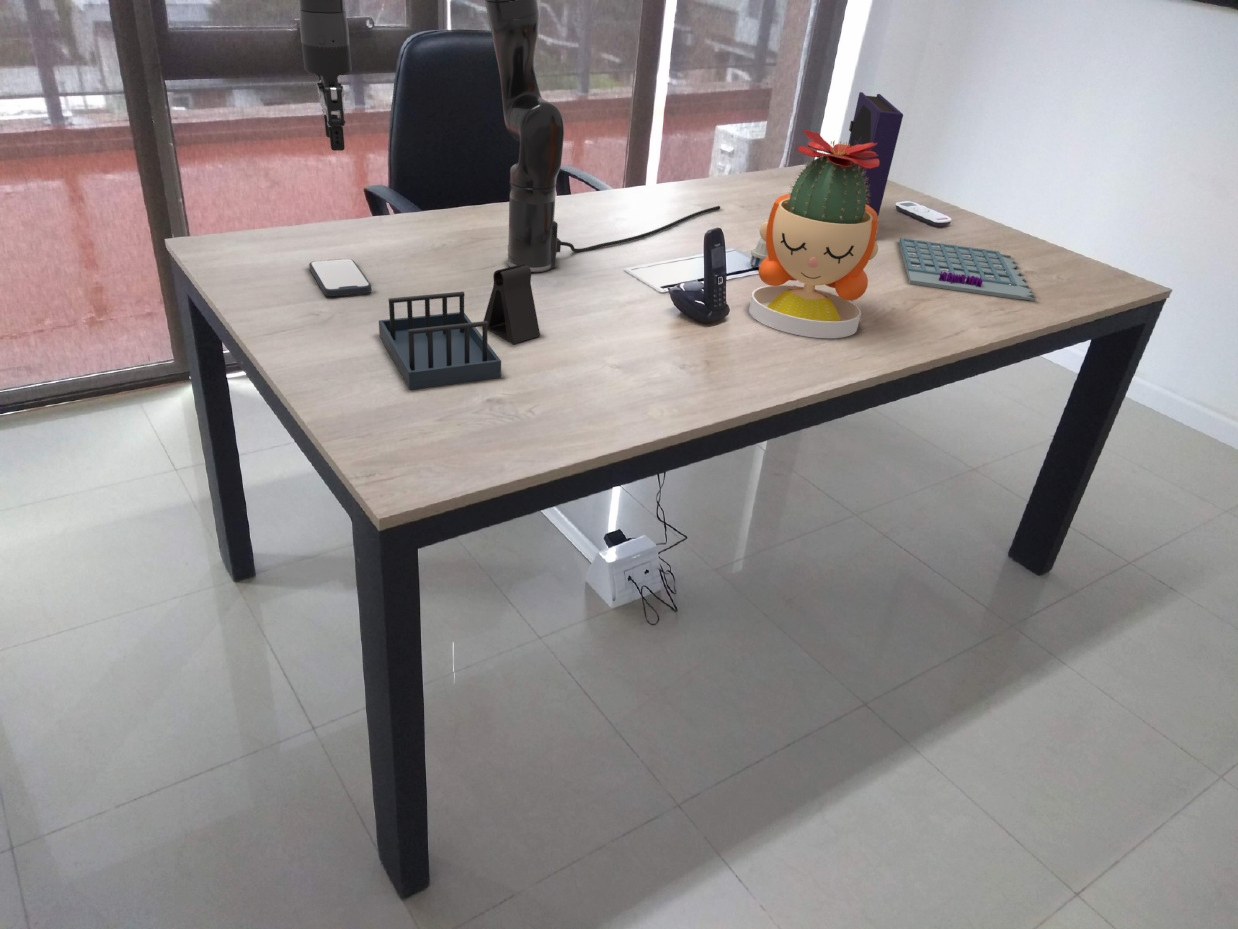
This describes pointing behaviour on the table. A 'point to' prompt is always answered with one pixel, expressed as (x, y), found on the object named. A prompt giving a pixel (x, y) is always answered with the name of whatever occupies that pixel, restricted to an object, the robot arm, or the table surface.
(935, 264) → the calendar
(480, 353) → the drying rack
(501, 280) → the phone stand
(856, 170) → the potted cactus
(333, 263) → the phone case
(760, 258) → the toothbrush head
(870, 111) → the book
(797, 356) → the table surface
